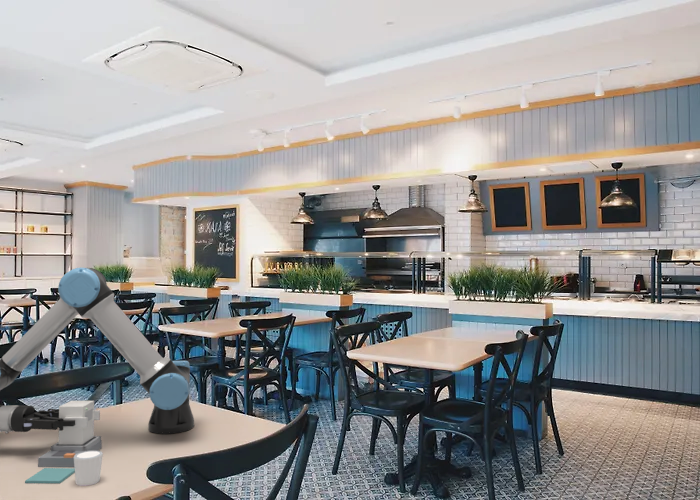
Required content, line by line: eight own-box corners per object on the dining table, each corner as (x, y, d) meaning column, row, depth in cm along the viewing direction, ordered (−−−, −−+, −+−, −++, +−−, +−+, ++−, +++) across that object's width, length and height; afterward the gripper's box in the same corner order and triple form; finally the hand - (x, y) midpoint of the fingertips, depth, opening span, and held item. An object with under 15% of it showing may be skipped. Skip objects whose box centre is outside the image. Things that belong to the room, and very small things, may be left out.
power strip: (112, 439, 177) (113, 428, 178) (75, 467, 153) (75, 453, 153) (80, 439, 178) (80, 428, 178) (38, 466, 153) (38, 453, 154)
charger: (95, 437, 168) (95, 400, 168) (84, 444, 161) (84, 406, 161) (70, 437, 168) (71, 400, 168) (58, 444, 161) (59, 406, 161)
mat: (77, 470, 151) (77, 468, 151) (59, 483, 142) (59, 481, 142) (44, 470, 151) (44, 468, 151) (25, 483, 142) (25, 480, 142)
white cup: (79, 476, 146) (80, 450, 147) (106, 476, 147) (106, 449, 147) (68, 487, 140) (69, 459, 140) (96, 486, 140) (97, 458, 140)
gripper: (35, 421, 175) (108, 421, 175) (-6, 441, 155) (76, 442, 155) (36, 397, 175) (108, 398, 175) (-5, 414, 155) (77, 415, 155)
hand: (93, 418), depth 165 cm, fingers closed on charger, 7 cm apart
